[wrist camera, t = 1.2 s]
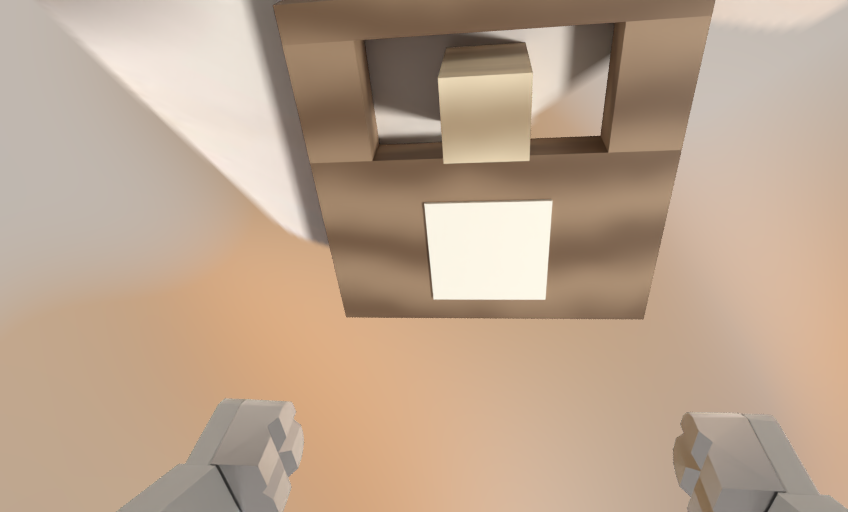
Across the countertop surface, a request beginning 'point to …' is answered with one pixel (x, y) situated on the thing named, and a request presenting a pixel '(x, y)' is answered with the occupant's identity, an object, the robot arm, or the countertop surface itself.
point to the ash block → (485, 103)
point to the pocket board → (495, 166)
